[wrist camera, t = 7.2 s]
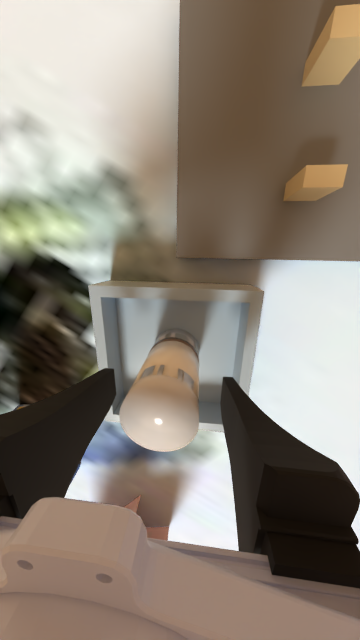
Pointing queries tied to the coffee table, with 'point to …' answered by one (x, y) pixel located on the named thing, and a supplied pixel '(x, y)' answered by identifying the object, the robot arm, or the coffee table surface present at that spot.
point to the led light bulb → (165, 395)
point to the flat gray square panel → (269, 130)
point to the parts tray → (177, 313)
